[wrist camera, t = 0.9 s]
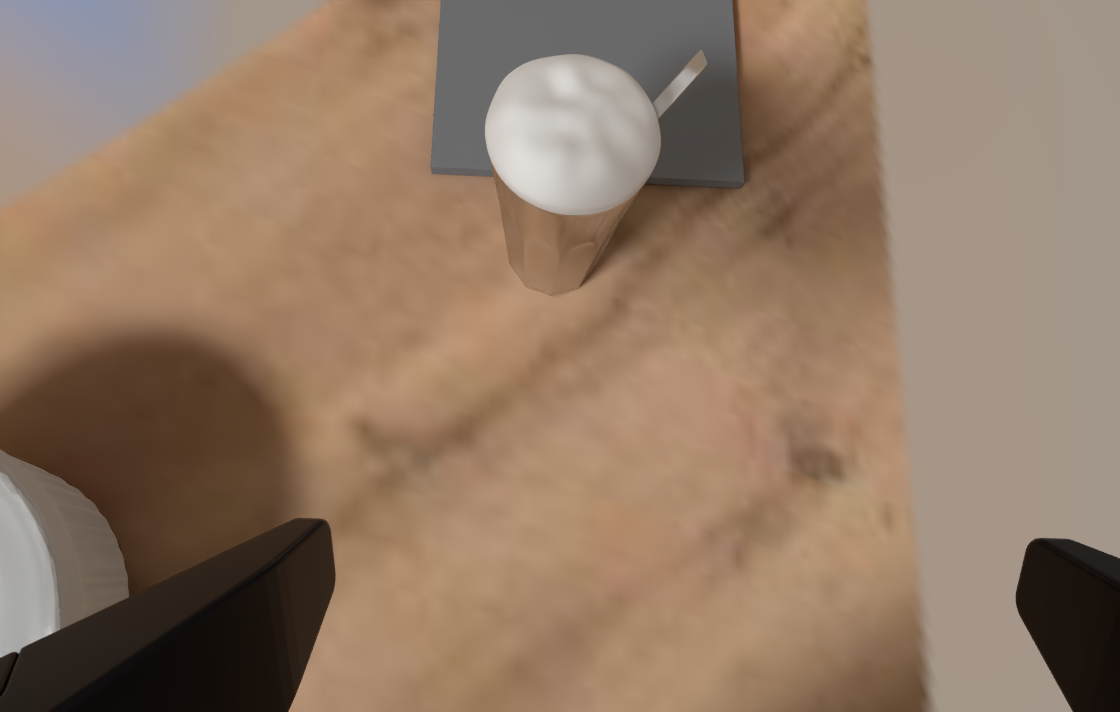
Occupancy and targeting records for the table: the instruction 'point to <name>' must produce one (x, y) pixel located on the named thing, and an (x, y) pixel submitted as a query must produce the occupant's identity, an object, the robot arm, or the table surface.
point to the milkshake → (571, 160)
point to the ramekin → (51, 556)
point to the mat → (613, 36)
